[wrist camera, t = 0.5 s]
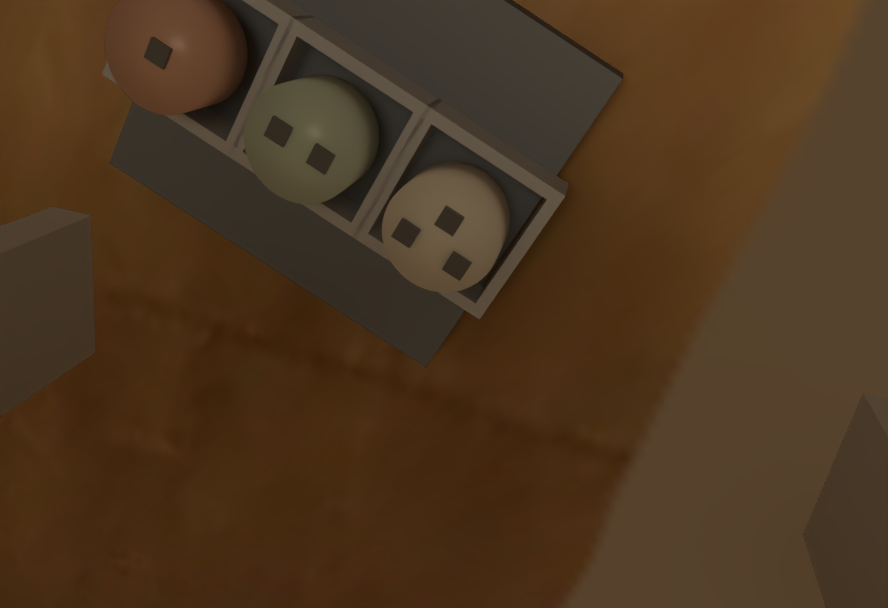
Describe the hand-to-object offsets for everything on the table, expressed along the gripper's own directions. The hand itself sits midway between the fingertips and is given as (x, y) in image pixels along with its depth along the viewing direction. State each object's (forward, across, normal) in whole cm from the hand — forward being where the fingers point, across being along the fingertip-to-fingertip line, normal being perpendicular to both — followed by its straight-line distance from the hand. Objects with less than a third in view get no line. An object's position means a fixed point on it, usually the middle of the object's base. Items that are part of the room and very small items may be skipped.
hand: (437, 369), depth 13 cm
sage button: (+17, -8, -1) cm, 19 cm away
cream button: (+17, -3, -3) cm, 18 cm away
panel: (+21, -8, -1) cm, 23 cm away
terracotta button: (+17, -14, +2) cm, 22 cm away
